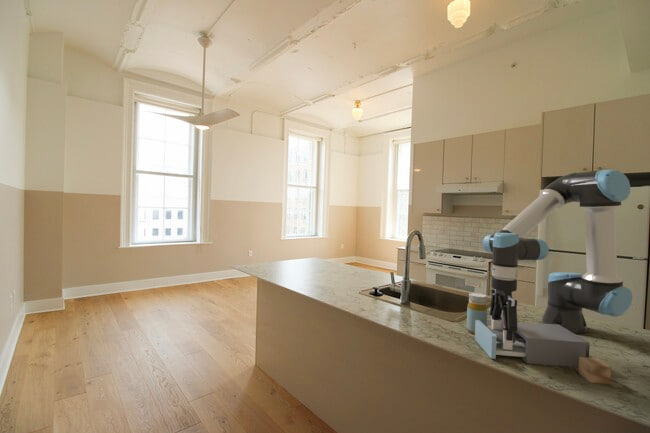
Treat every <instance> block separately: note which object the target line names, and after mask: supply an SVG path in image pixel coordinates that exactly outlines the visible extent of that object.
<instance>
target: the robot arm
mask: <svg viewBox="0 0 650 433" xmlns="http://www.w3.org/2000/svg"><path fill="white" fill-rule="evenodd" d="M630 194H631V184H630V180H629V178H628V177H627V175H626V174H624V172H622V171H621V170H618V169H599V170H590V171H582V172H581V171H580V172H571V173H568V174H566V175H563V176H561V177H559V178H557V179H555V180H553V182H551V183H549V184H548V185H547V186H546V187H544V188H543V189H542V190H541V191H540V192H539V196H538V197H536V198H535V200H533V201H532V202H531V203H530V204H529V205H527V206H526V207H525V208H524V209H523V210H522V211H520V212H519V213H518V214H517V215H516V216H515V217H514V218H513V219H512V220H511V221H509V222H508V223H507V224H506V225H505V226H504V227H503V228H502V229H500V231H498V232H495V234H494V233H493V234H488V235H486V236H484V238H483V240H482V248H483V250H484V251H486V252H487V253H489V254H492V265H491V266H492V267H491V268H490V271H491V275H492V277H491V288H492V289H491V296H490V297H491V299H490V307H489V308H490V311H489V316H490V317H491V316H492V319H493V320H492V325H491V330H492V329H497V330H501V320H502V318H501V314H502V310H503V318H504V325H505V326H504V328H503V349H507V350H512V347H513V331H517V322H518V312H517V310H518V309H517V307H518V300H517V299H514V298H513V294H512V293H513V292H517V289H518V281H517V279H518V271H519V270H518V266H519V261H535V262H536V261H540V260H544V259H545V258H547V257H548V255H549V252H550V251H549V246H548V243H547V242H546V241H545V240H543V239H541V238H525V237H526V236H527V235H528V234H530V232H532V231H533V230H534V229H536V227H538V225H539V224H541V223H542V222H543V221H544V220H545V219H546V218H548V216H549V215H550V214H551V213H553V212H554V211H555V210H557V209H561V208H562V207H564V206H565V205H566V204H570V203H579V208H581V210H583V211H584V220H585V221H584V223H585V226H584V228H585V232H584V233H585V261H586V263H585V265H586V272H585V273H584V274H583V273H582V272H581V273H578V272H567V271H566V272H563V271H560V272H559V271H558V272H556V271H555V272H551V273H550V274H549V275H548V281H547V306H546V308H545V310H544V312H543V314H542V316H541V323H542V324H558V325H560V326H562V327H564V328H566V329H567V330H569V331H571V332H572V333H574V334H585V333H588V325H587V322H586V319H585V316H584V314H583V309H585V310H589V311H591V312H596V313H598V314H600V315H605V316H610V317H612V318H613V317H615V318H616V317H620V316H621V317H622V315H624V314H625V313H627V311H629V309H630V307H631V305H632V302H633V292H632V291H631V289H630V288H628V287H627V286H624V280H623V278H621V277H620V276H619V275H618V263H617V262H618V260H617V259H618V258H617V255H618V253H617V215H616V214H617V213H616V212H617V210H618V209H619V208H621V206H622V202H624V201H626V200H627V199H628V198H629V195H630Z"/></svg>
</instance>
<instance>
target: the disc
mask: <svg viewBox="0 0 650 433" xmlns="http://www.w3.org/2000/svg"><path fill="white" fill-rule="evenodd" d="M489 330H490V331H491V332H492V333H494V334H495V335H496V336H497V340H496V341H497V342H501V343H503V330H497V329H492V328H491V329H489ZM515 340H516V336H515V335H514V334H513V343H515Z"/></svg>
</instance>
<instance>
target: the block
mask: <svg viewBox="0 0 650 433" xmlns="http://www.w3.org/2000/svg"><path fill="white" fill-rule="evenodd" d="M577 372H578V374H579V375H580V376H582V377H583V378H584V379H586V380H587V381H588V382H589V383H593V384H602V385H603V384H604V385H611V376H612V375H611V374H612V366H611V365H609V364H607V363H606V362H605V361H603V360H602V359H599V358H597V357H589V358H588V357H579V367H578V371H577Z"/></svg>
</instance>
